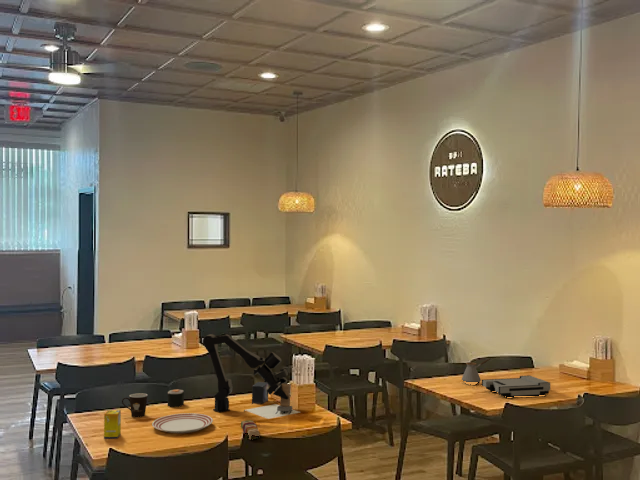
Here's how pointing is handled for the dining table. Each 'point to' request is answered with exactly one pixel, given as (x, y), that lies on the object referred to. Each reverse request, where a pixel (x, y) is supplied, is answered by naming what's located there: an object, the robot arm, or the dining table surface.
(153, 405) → the dining table surface
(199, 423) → the dinner plate
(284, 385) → the block
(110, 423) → the supplement box
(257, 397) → the small box
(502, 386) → the game console
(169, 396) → the sushi
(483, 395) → the dining table surface
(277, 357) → the robot arm
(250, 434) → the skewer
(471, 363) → the coffee pot
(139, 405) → the coffee mug
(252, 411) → the board
